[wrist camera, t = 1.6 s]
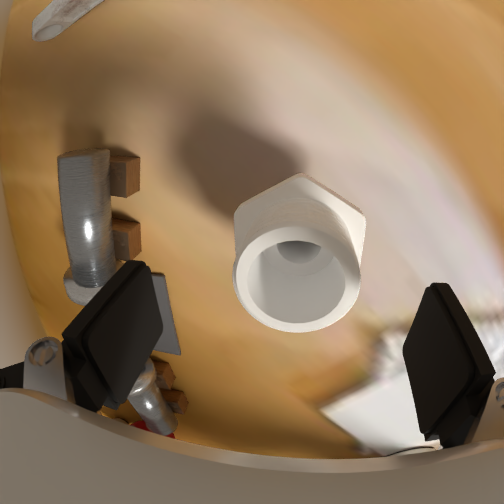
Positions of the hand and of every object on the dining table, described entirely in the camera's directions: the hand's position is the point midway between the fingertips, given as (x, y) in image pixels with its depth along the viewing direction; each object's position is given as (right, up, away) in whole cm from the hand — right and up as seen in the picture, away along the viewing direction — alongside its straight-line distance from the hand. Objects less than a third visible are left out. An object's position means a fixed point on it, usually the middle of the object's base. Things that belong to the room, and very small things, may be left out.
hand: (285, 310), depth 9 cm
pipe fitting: (+2, +4, +9) cm, 10 cm away
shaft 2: (-12, -13, +21) cm, 27 cm away
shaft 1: (-12, +5, +11) cm, 17 cm away
